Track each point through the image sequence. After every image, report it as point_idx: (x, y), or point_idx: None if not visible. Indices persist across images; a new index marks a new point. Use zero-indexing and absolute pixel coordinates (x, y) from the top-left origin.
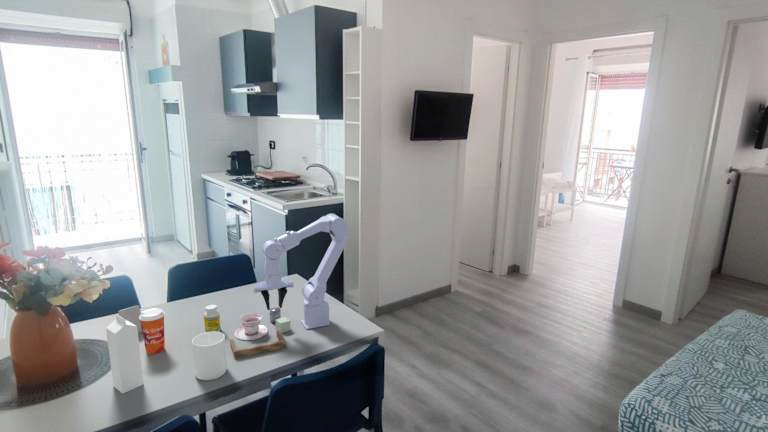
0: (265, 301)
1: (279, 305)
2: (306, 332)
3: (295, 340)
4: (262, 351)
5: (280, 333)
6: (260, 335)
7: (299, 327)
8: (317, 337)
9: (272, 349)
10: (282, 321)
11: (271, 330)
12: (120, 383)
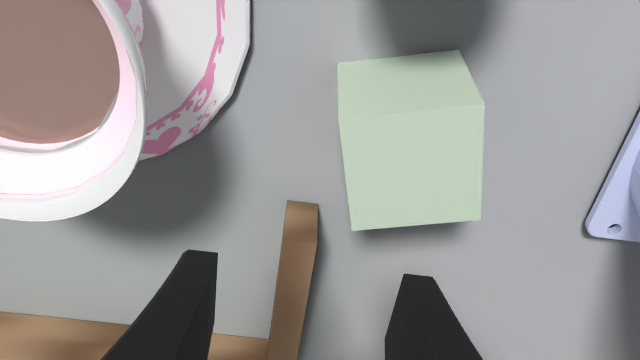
0: (131, 346)
1: (394, 338)
2: (546, 259)
3: None
4: None
5: (297, 300)
6: (149, 111)
7: (560, 153)
8: (559, 351)
9: None
10: (393, 199)
11: (285, 66)
12: None
